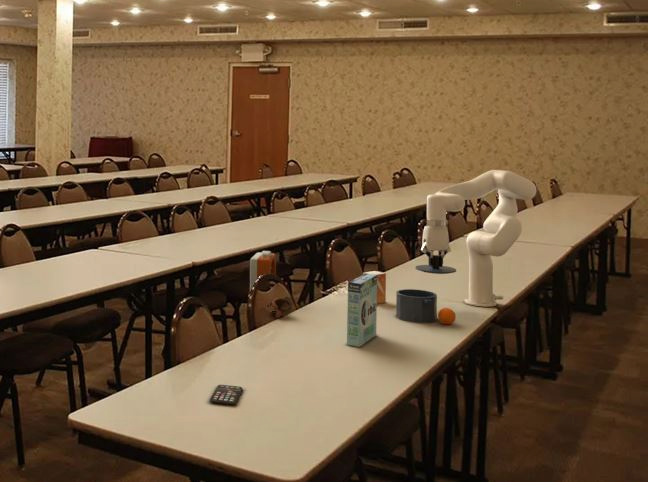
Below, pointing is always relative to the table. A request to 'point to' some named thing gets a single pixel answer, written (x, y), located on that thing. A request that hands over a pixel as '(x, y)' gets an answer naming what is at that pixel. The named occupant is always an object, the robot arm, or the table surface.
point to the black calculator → (226, 394)
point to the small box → (380, 286)
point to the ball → (446, 316)
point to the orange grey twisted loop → (278, 308)
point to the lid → (436, 267)
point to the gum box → (361, 309)
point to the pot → (416, 305)
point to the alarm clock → (262, 265)
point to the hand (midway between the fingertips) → (435, 266)
